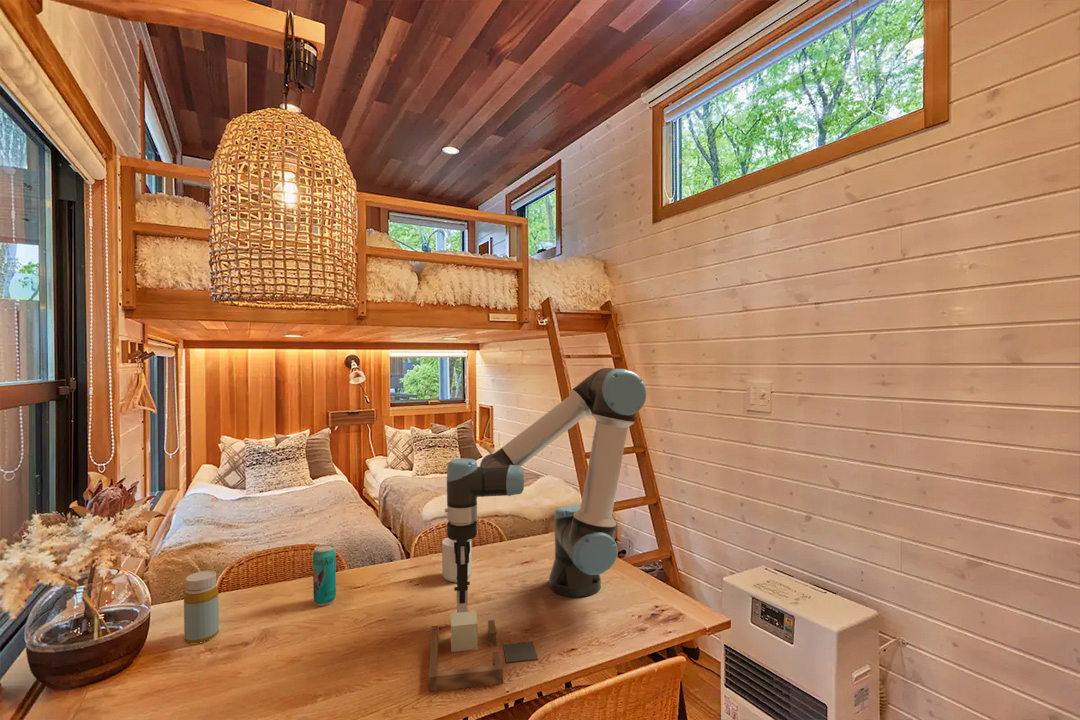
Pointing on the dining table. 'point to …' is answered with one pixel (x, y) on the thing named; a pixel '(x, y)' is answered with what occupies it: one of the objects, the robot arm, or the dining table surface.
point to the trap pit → (520, 652)
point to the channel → (464, 676)
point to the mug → (452, 560)
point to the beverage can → (324, 575)
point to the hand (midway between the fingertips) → (462, 613)
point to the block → (463, 631)
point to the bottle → (201, 607)
